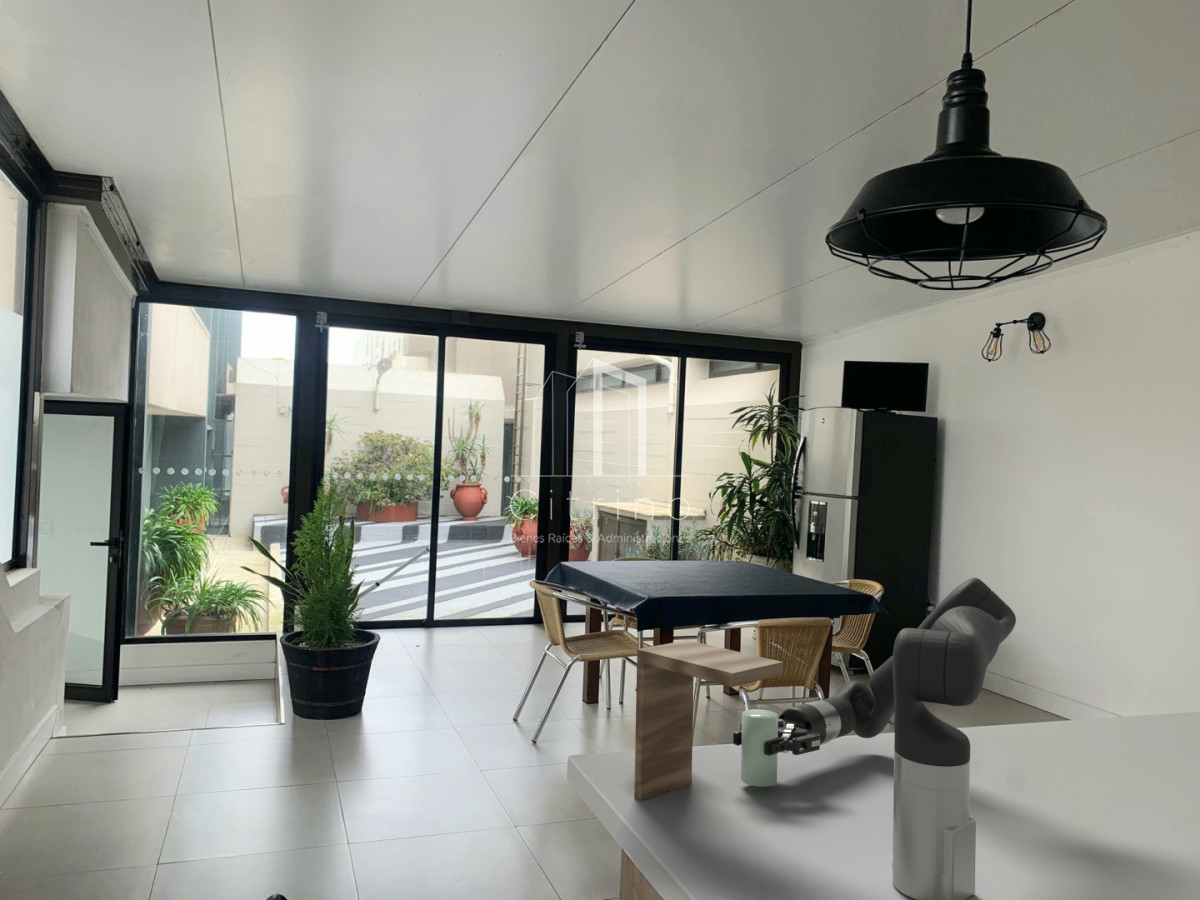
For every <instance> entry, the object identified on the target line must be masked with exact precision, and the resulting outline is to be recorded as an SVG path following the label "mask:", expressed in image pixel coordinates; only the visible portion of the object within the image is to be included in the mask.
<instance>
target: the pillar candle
mask: <svg viewBox="0 0 1200 900" xmlns="http://www.w3.org/2000/svg"><path fill="white" fill-rule="evenodd" d="M778 718H779V714H778V713H776V712H775V711H771V710H767V709H757V708H755V709H746V710H743V711H742V712H741V722H742V742H741V745H740V746H741V750H740V751H741V755H740V756H741V758H740V780H741V782H743V784H746V785H749V786H753V787H759V788H760V787H762V788H764V787H766V788H767V787H771V786H775V785H777V783H778V760H779V759H778V758H779V757H778V756H779V755H778V754H779V753H776V754H773V755H770V756H767V755H765V754H764V744H765V742H766V741H769V740H772V739H775V738H778Z"/></svg>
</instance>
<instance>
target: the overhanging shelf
mask: <svg viewBox="0 0 1200 900" xmlns="http://www.w3.org/2000/svg"><path fill="white" fill-rule="evenodd" d="M783 673H784V662H783V661H780V660H776V659H771V658H767V657H763V656H758V655H754V654H749V653H746V652H741V651H736V650H733V649H728V648H724V647H720V646H719V647H718V646H714V645H710V644H706V643H701V642H697V641H692V640H688V639H687V640H682V641H675V642H670V643H664V644H658V645H653V646H648V647H643V648H642V647H641V648H637V649H636V686H635V689H636V691H635V695H636V697H635V704H636V705H635V744H634V745H635V747H634V748H635V752H634V753H635V754H634V794H633V795H634V797H633V798H634V799H636V800H639V801H643V800H646V799H648V798H652V797H654V796H658V795H661V794H663V793H667V792H671V791H672V790H675V789H679V788H682V787H685V786H688V785H691V784H692V782H693V777H692V775H693V729H694V727H693V726H694V725H693V723H694V678H697V679H701V680H704V681H708V682H712V683H715V684H719V685H723V686H727V687H730V688H734V687H738V686H742V685H746V684H750V683H755V682H759V681H764V680H767V679H772V678H776V677H780V676H783V675H784V674H783Z"/></svg>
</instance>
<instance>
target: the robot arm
mask: <svg viewBox="0 0 1200 900" xmlns="http://www.w3.org/2000/svg"><path fill="white" fill-rule="evenodd" d="M1016 621H1017V617H1016V614H1015V611H1014V610H1013V609H1012V608H1011V607H1009V605H1008V604H1007V603H1006V602H1005V601H1003V599H1002V598H1001V597H1000V596H999V595H998V594H996V592H995V591H993V590H992V588H990V587H989V585H987V584H986V583H985V582H984V581H982V580H981V579H980V578H978V577H971V578H968V579H967V580H965V581H964V582H963V581H962V583H960V584H959V585H958V586H956V588H954V589H953V590H951V592H949V593H948V595H946V596H945V597H944V598H943V599H942V600H941V601H940V602H939V603H938V605H937V606H936V607H935V608H934V609H933V610H932V611H931V612H930V613H929V615H927V617H926V618H925V619H924V620H923V621H922V622H921V624H919V626H918V627H917V628H914V627H905V628H902V629H901V630H900V631H899V632H898V633H897V635H896V638H895V640H894V644H893V651H892V655H891V656H890V657H889V658H888V659H887V660H886V661H884V662H883V663H882V664H880V666H879V667H878V668H876V669H875V670H874V671H873V672H872V673H871V674H870V676H869V680H868V683H869V687H870V688H869V687H868V685H866V684H865V683H864V682H862V681H858V680H851V681H849V682H847V683H845V684H844V685H842V686H841V687H840V688H839V689H837V691H836V692H835V693H834V694H833V695H832V696H830V697H828V698H825V699H821V700H816V701H809V702H805V703H802V704H799V705H795V706H792V707H788V708H786V709H785V710H783V711H782V712H781V714H780V715H779V716H778V738H775V739H772V740H769V741H766V742H765V744H764V754H765V755H767V756H770V755H773V754H776V753H778V754H779V753H782V754H789V752H792V755H794V756H798V755H799V756H800V755H803V754H807V753H813V752H816V751H820V748H821V746H823V745H825V744H828V743H829V742H831V741H833V740H836V739H838V738H841V737H844V736H846V735H847V736H848V734H850V733H851V732H854V733H855V734H856V736H858V737H859V738H862V739H871V738H875V737H876V736H878V735H879V734H881V733H882V731H884V729H885V728H886V727H887V725H888V724H889V722H890V721H891V718H892V716H894V719H893V720H894V722H893V724H894V727H893V729H894V731H893V733H894V747H893V748H894V750H893V751H894V753H893V799H892V801H893V802H892V803H893V806H892V813H893V815H892V818H893V819H892V863H891V866H892V867H891V868H892V884H893V886H894V887H895V889H896V890H898V891H899V892H901V893H902V894H903V895H905V896H907V897H909V898H912V899H914V900H967V899H969V898H970V897H972V896H973V895H975V894H976V849H977V848H976V845H977V844H976V841H977V834H976V833H977V821H976V819H975V818H973V817H970V793H971V792H970V784H971V783H970V781H971V779H970V778H971V776H970V775H971V773H970V772H971V742H970V739H969V737H968V736H967V734H966V733H964V732H963V731H961V730H960V729H958V728H956V727H955V726H953V725H951V724H948V723H946V722H945V721H943V720H941V719H940V718H938V716H936V715H934V714H933V713H932V712H931V711H930V710H928V708H927V707H926V706H925V704H924V702H925V703H926V702H927V703H932V704H939V705H945V706H951V707H965V706H970V705H972V704H973V703H974V702H975V701H976V700H977V699H978V697H979V696H980V694H981V692H982V688H983V685H984V681H985V676H986V672H987V668H988V667H989V664H991V662H992V661H993V659H994V657H995V656H996V654H997V652H998V649H999V646H1000V645H1001V643H1003V642H1004V641H1005V640H1006V639H1007V637H1009V635H1010V634H1011V633H1012V631H1013V630H1014V629H1015V626H1016V624H1017V622H1016ZM739 727H740V728H739V730H736V731H734V732H733V735H732V736H733V737H732V740H733V741H732V742H733V743H732V744H733V745H735V746H741V742H742V721H741V722H740V725H739Z"/></svg>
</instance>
